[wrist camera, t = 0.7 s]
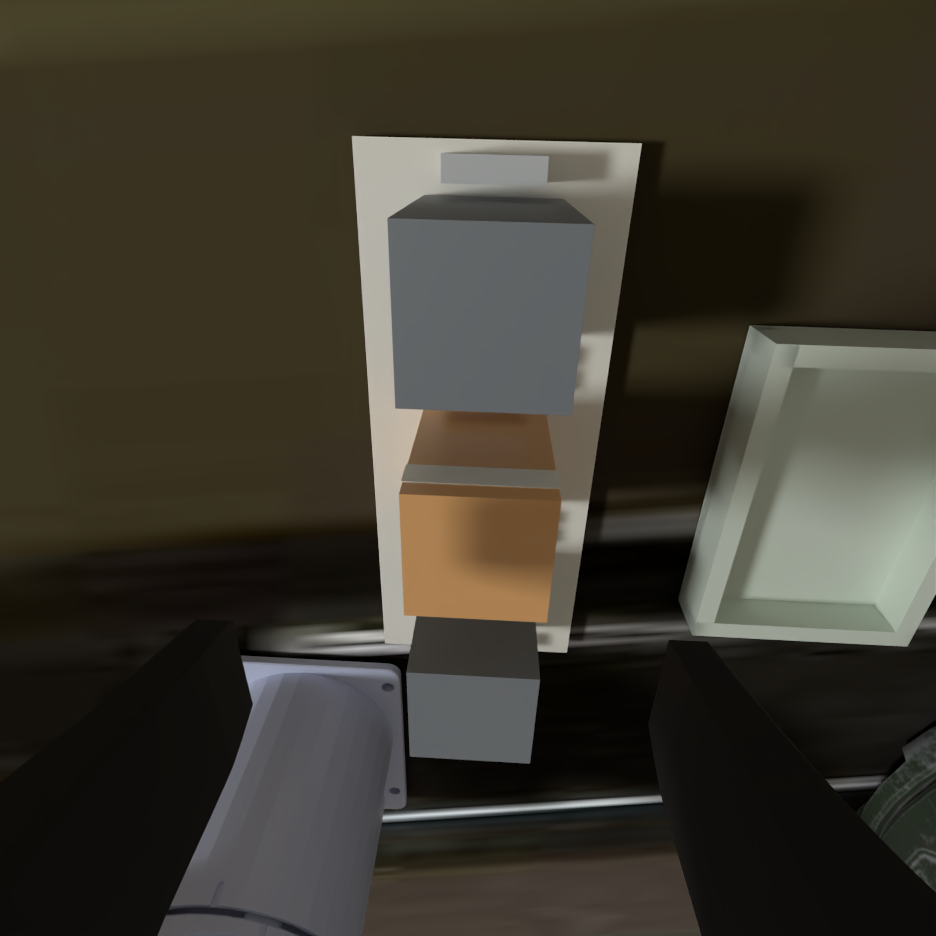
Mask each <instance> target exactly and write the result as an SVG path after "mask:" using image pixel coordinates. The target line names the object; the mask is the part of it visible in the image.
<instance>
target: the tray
mask: <svg viewBox="0 0 936 936" xmlns="http://www.w3.org/2000/svg"><path fill="white" fill-rule="evenodd" d="M935 595H936V332H934V331H906V330H877V329H849V328H820V327H792V326H763V325H750V326H749V330H748V334H747V338H746V342H745V345H744V349H743V353H742V357H741V361H740V364H739V368H738V372H737V376H736V380H735V384H734V387H733V391H732V395H731V399H730V403H729V407H728V410H727V414H726V418H725V422H724V426H723V429H722V433H721V437H720V441H719V445H718V449H717V452H716V456H715V460H714V464H713V468H712V472H711V475H710V479H709V483H708V487H707V491H706V494H705V498H704V502H703V506H702V510H701V514H700V517H699V521H698V525H697V529H696V533H695V537H694V540H693V544H692V548H691V552H690V556H689V559H688V563H687V567H686V571H685V575H684V579H683V582H682V586H681V590H680V594H679V598H678V601H679V603H680V606H681V608H682V611H683V613H684V616H685V618H686V621H687V623H688V626H689V628H690V631H691V634H692V635H695V636H714V637H734V638H753V639H772V640H792V641H811V642H830V643H850V644H869V645H888V646H908V644H909V642H910V641H911V639H912V637H913V635H914V633H915V631H916V629H917V628H918V626H919V624H920V622H921V620H922V618H923V617H924V615H925V613H926V611H927V609H928V607H929V606H930V604H931V602H932V600H933V598H934V596H935Z"/></svg>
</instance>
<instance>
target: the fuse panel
mask: <svg viewBox="0 0 936 936" xmlns="http://www.w3.org/2000/svg"><path fill="white" fill-rule="evenodd" d="M352 144H353V160H354V175H355V190H356V206H357V221H358V236H359V252H360V267H361V282H362V298H363V313H364V328H365V344H366V359H367V374H368V390H369V405H370V420H371V436H372V451H373V466H374V482H375V497H376V512H377V528H378V543H379V558H380V574H381V589H382V604H383V620H384V635H385V643H392V644H410V645H411V649H410V655H409V660H408V666H407V672H406V676H407V700H408V724H409V748H410V757H426V758H443V759H460V760H477V761H494V762H511V763H528V764H530V759H531V751H532V743H533V734H534V726H535V718H536V709H537V701H538V693H539V684H540V673H539V659H538V651H542V652H561V653H567V648H568V642H569V635H570V628H571V621H572V614H573V608H574V601H575V594H576V587H577V581H578V574H579V567H580V560H581V553H582V547H583V540H584V533H585V526H586V520H587V513H588V506H589V499H590V492H591V486H592V479H593V472H594V465H595V458H596V452H597V445H598V438H599V431H600V425H601V418H602V411H603V404H604V397H605V391H606V384H607V377H608V370H609V364H610V357H611V350H612V343H613V336H614V330H615V323H616V316H617V309H618V303H619V296H620V289H621V282H622V275H623V269H624V262H625V255H626V248H627V241H628V235H629V228H630V221H631V214H632V208H633V201H634V194H635V187H636V180H637V174H638V167H639V160H640V153H641V147H642V143H605V142H566V141H526V140H487V139H448V138H408V137H369V136H352ZM423 410H443V411H468V412H493V413H518V414H543V415H547V421H548V427H549V433H550V438H551V444H552V450H553V456H554V461H555V467H556V470H558V475H559V481H560V486H561V491H560V496H561V509H560V517H559V526H558V534H557V542H556V551H555V559H554V567H553V576H552V584H551V592H550V601H549V609H548V617H547V623H542V622H523V621H504V620H484V619H465V618H445V617H426V616H406V615H404V605H403V581H402V557H401V533H400V509H399V492H400V488H401V479H402V476H403V472H404V469H405V466H406V464H408V461H409V458H410V454H411V451H412V447H413V444H414V440H415V437H416V434H417V430H418V427H419V423H420V420H421V416H422V413H423Z"/></svg>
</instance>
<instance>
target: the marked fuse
mask: <svg viewBox="0 0 936 936" xmlns="http://www.w3.org/2000/svg"><path fill="white" fill-rule="evenodd" d="M560 491H561V486H560V481H559V475H558V470H556V467H555V461H554V456H553V450H552V444H551V438H550V433H549V427H548V421H547V415H543V414H518V413H493V412H468V411H443V410H423V413H422V416H421V420H420V423H419V427H418V430H417V434H416V437H415V440H414V444H413V447H412V451H411V454H410V458H409V461H408V464H406V466H405V469H404V472H403V476H402V479H401V488H400V492H399V509H400V533H401V557H402V581H403V605H404V615H406V616H426V617H445V618H465V619H484V620H504V621H523V622H542V623H547V617H548V609H549V601H550V592H551V584H552V576H553V567H554V559H555V551H556V542H557V534H558V526H559V517H560V509H561V496H560Z"/></svg>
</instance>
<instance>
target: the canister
mask: <svg viewBox="0 0 936 936" xmlns="http://www.w3.org/2000/svg"><path fill="white" fill-rule="evenodd" d="M902 749H903V753H904V756H905V762H904V763H903V764H902V765H901V766H900V767H899V768H898V769H897V770H896V771H894V773H892V774H891V775H890V776H889V777H888V778H887V779H886V780H885V781H884V782H883V783H881V785H880V786H879V787H878V789H877V790H876V792H875V793H874V794H873V796H872V797H871V798H870V800H869V801H867V802H865V803H864V804H863V805H862V806H861V807H860V808H859V809H858V810H857V814H858V815H859V816H860V817H861V819H862V820H863V821H864V822H865V823H866V824H867V825H868V826H869V827H870V828H871V829H872V830H873V831H874V832H875V833H876V834H877V835H878V836H879V837H880V838H881V839H882V840H883V841H884V842H885V843H886V844H887V845H888V846H889V847H890V848H891V849H892V850H893V851H894V852H895V853H896V854H897V855H898V856H899V857H900V858H901V859H902V860H903V861H904V862H905V863H906V864H907V865H908V866H909V867H910V868H911V869H912V870H913V871H914V872H915V873H916V874H917V875H918V876H919V877H920V878H921V879H922V880H923V881H924V882H925V883H926V884H927V885H929V886H930V887H931V888H932V889H933V890H934V891H935V892H936V726H934V727H932V728H930V729H929V730H927V731H926V732H924V733H923V734H921V735H920V736H918V737H917V738H916V739H914V740H913V741H911V742H910V743H908V744H907V745H905V746H904V747H902Z"/></svg>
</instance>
